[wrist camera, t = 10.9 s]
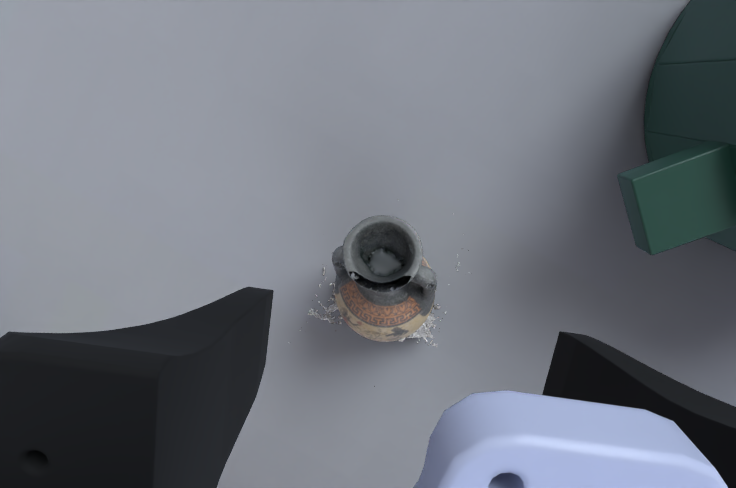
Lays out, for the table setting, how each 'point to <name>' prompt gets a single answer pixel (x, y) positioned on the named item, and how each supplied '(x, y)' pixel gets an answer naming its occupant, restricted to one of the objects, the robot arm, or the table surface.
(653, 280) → the table surface
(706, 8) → the pot
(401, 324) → the vase
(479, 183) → the table surface
